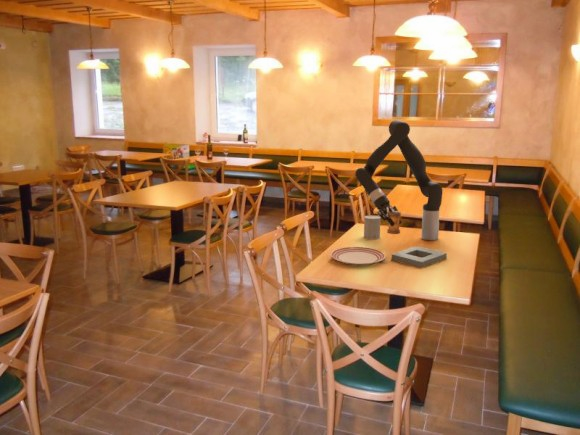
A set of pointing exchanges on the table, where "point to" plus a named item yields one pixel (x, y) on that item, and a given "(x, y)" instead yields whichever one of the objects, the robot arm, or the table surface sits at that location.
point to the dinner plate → (358, 255)
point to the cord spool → (395, 217)
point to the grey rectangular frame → (411, 258)
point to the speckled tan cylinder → (372, 227)
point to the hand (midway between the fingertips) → (396, 224)
